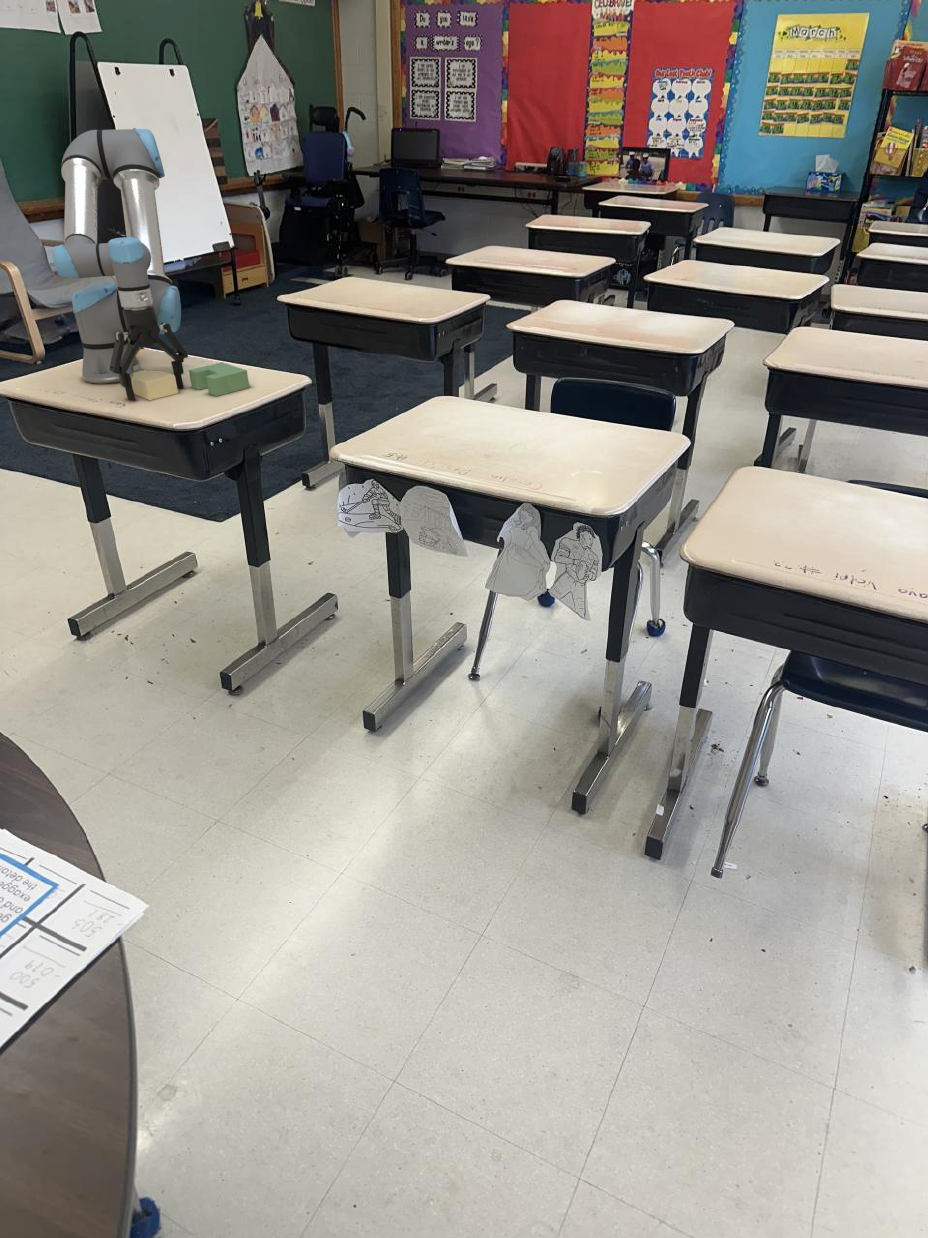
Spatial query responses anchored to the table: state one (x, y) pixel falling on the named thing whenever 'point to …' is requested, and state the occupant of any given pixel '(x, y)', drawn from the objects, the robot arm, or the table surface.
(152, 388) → the cream pad
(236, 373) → the green u-shaped block
